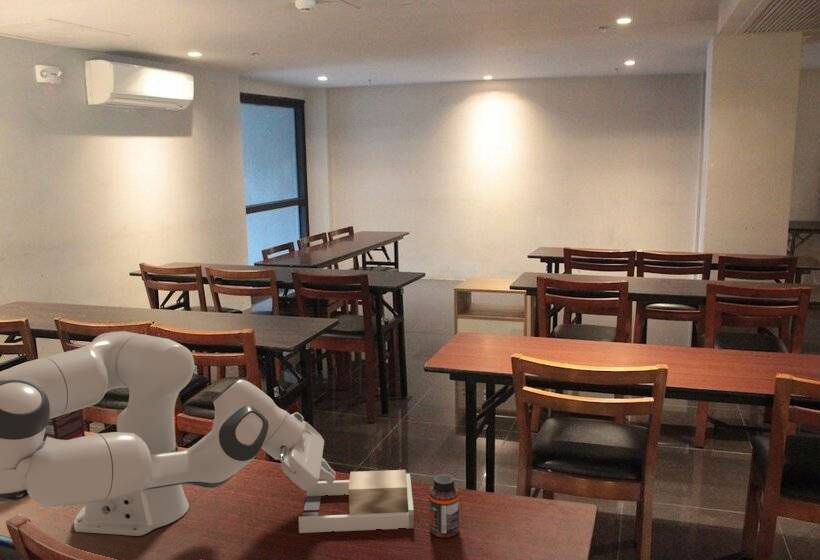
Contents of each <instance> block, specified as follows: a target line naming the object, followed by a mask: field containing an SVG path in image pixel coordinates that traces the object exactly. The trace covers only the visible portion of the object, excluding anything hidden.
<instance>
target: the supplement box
mask: <svg viewBox="0 0 820 560" xmlns="http://www.w3.org/2000/svg"><path fill="white" fill-rule="evenodd" d="M82 409H83V408H82ZM82 409H79V410H76V411H73V412H70V413H67V414H64V415H61V416H58V417H55V418H52V419H49V422H48V424H47V426H46V429H45V434H44V438H43V441H45V439H46V437H50V438H54V439H59V440H70V439H74V438H79V437H83V436H86V435H85V426H84V419H83V410H82Z"/></svg>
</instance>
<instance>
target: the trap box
mask: <svg viewBox="0 0 820 560" xmlns="http://www.w3.org/2000/svg"><path fill="white" fill-rule="evenodd" d="M406 479H407V503H408V512H399V513H374V514H350V513H348V514H331V515H329V514H328V515H327V514H326V515H325V514H324V515H319V512H318V511H320V506H321V501H322V496H323V497H325V495H328V496H347V495H348V496H349V481H350V479H342V480H341V479H339V480H336V479H335V481H334V482H333V483H332V484H328V483H327V482H326V481H325V480H319V481H318V483H317V484H316V485H315V486H314V487H313V488H312V489H311V490H310V491H306V497H305V502H304V508H303V513H302V516H298V533H299V534H305V533H306V534H307V533H310V534H311V533H327V532H328V533H329V532H330V533H331V532H332V531H334V532H352V531H353V532H355V531H356V532H357V531H377V530H376V529H382V530H399V529H398V528H406V529H414V528H415V515H414V512H415V511H414V509H415V508H414V500H413V493H412V492H413V491H412V490H413V489H412V480H411V473H406ZM344 494H345V495H344Z"/></svg>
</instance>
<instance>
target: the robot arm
mask: <svg viewBox="0 0 820 560" xmlns="http://www.w3.org/2000/svg"><path fill="white" fill-rule="evenodd" d="M194 358H195V357H194V356H193V353H192V352H191V350H190V349H188V347H186V346H184V345H182V344H181V343H178V342H177V341H175V340H172V339H170V338H166V337H165V338H164V337H159V336H153V335H148V334H141V333H135V332H131V331H124V330H121V331H110V332H104V333H102V334H99V335H98V336H96V337H95V338H94V339H93V340H92V341H91V342H90V343H88V344H86V345H85V346H82V347H78V348H75V349H73V350H67V351H64V352H60V353H56V354H52V355H49V356H43V357H40V358H36V359H33V360H29V361H25V362H23V363H20V364H17V365H15V366H11V367H10V368H8V369H5V370H2V371H1V372H0V503H5V502H8V501H9V502H11V501H12V502H17V501H19V500H22V499H25V498H26V497H28V496H29V497H30V499H31V500H32V501H33V502H34V503H36V504H37V505H40V506H43V507H67V506H79V505H80V506H81V505H84V506H83V507H82V508H81V509H80V510H79V511H78V513H77V514H76V516H75V518H74V521H73V529H74V531H75V532H77V533H88V534H89V533H90V534H105V535H119V536H120V535H121V536H135V537H140V536H144V535H146V534H148V533H150V532H152V531H153V530H155V529H158V528H161V527H164V526H167V525H169V524H171V523H173V522H175V521H177V520H179V519H180V518H182V517H183V516H184V515H186V513H187V512H188V511H189V507H190V504H189V501H188V499H187V497H186V494H185V492H184V488H183V485H193V486H199V487H202V488H206V489H207V488H210V489H211V488H217V487H221V486H223V485H224V484H226V483H227V482H228V481H229V480H231V478H232V477H233V476H234V475H235V474H237V473H238V472H239V471H240V470H242V469H243V468H244V467H245V466H247V465H248V464H249V463H250V462H251V461H253V460H254V459H255V458H256V457H257V456H258V454H259V453H260V451H261V449H262V450H263V451H265V452H266V453H267V454H268V455H270V456H271V457H272V458H273V459H274V460H276V461H278V460H279V461H280V463H281V469H282V471H283V473H284V474H285V475H286V476H287V477H288V478H289V479H290V480H291V481H292V482H293V483H294V484H295V485H296V486H297V487H298V488H300V490H302V491H304V492H307V491H310V490H311V489H312V488H313V487H314V486H315V485H316V484H317V483H318V481H320V480H321V481H326V482H327V483H328V484H332V483H333V482H334V481H336V471H335V470H334V468H332V467H331V466H330V465H329V463H328V461H326V460H327V459H325V458H323V453H324V446H325V440H324V438H323V437H322V435H321V434H320V433H319V432H318V431H317V430H316V429H315V428H314V426H312V425H311V424H309V422H307V421H305V420H304V416H303V415H302V414H300V413H299V412H298V411H297V412H294V413H292V414H290V413H289V412H288V411H287V410H285V409H282V408H281V407H279V406H278V405H277V404H276V403H275V402H274V400H273V399H272V398H271V397H270V396H269V395H267V394H266V393H265V392H264V391H263V390H261V389H260V388H259V387H257V386H256V385H255V384H253V383H251V382H250V381H247V380H245V379H241V378H239V379H236V380H234V381H232V382H231V383H230V384H229V385H227V386H226V387H225V388H224V389H222V391H221V392H220V393H219V394H217V395H216V396H215V397H214V399H213V402H212V403H213V405H214V420H213V425H212V427H211V431H208V433H207V434H206V435H204V436H203V437H202V438H201V439H200V440H197V442H195V443H194V444H193V445H192V446H190V447H188V448H187V449H185V450H181V451H180V450H179V445H178V443H177V442H176V433H175V432H176V431H175V407H176V402H177V399H178V397H179V394H180V392H181V391H182V390H183V389H185V388H186V386H187V385H188V384H189V383H190V381H191V380H192V377H193V375H194V371H195V359H194ZM121 388H123V389H124V388H127V389H128V391H129V393H128V394H129V397H128V404H127V405H126V407H125V408H124V409H123V410H122V411H121V412H119V415H118V416H117V418H116V431H115V432H114V431H113V432H103V433H95V434H91V435H85V436H83V437H79V438H74V439H70V440H59V439H54V438H50V437H46V439H45V441H43V438H44V434H45V429H46V426H47V424H48V422H49V419H52V418H55V417H58V416H61V415H64V414H67V413H70V412H73V411H76V410H79V409H85V408H88V407H90V406H94V405H97V404H98V403H99V402H100V401H102V399H103V398H104V396H105V394H107V392H109V391H112V390H114V389H121Z"/></svg>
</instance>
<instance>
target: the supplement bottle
mask: <svg viewBox="0 0 820 560" xmlns="http://www.w3.org/2000/svg"><path fill="white" fill-rule="evenodd" d="M428 499H429V500H428V505H429V507H428V511H429V515H428V517H429V521H428V522H429V531H430V533H431V534H432V535H434V536H436V537H439V538H443V539H444V538H445V539H446V538H451V537H454V536H456V535H457V534H458V533H459V531H460V491H459V489H458V487H457V486H455V478H454V477H453V476H452V475H450V474H446V473H445V474H444V473H443V474H442V473H441V474H438V475H435V476H434V477H433V486H431V487H430V488H429V492H428Z"/></svg>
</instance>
